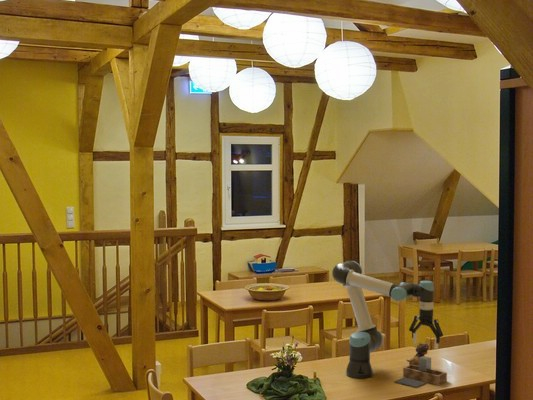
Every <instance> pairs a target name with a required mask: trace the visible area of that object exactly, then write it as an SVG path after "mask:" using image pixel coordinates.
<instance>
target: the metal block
mask: <svg viewBox="0 0 533 400" xmlns="http://www.w3.org/2000/svg"><path fill="white" fill-rule="evenodd" d="M431 369H432V357H430V356H425V355H424V356H422V357H420V358H419V371H422V372H426V373H431Z"/></svg>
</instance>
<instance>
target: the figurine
mask: <svg viewBox="0 0 533 400" xmlns="http://www.w3.org/2000/svg"><path fill="white" fill-rule="evenodd" d="M429 349H430V345H428V344H427V343H421V342H419V343H418V344H416V348H415V352H416V354H415V355H414V356H413V357H411V358H410V359H406V362H408V366H409V365H411V364H413V365H417V366H419V358H420V357H422V356H425V355H427V354H428V350H429Z"/></svg>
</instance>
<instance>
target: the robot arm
mask: <svg viewBox="0 0 533 400" xmlns="http://www.w3.org/2000/svg"><path fill="white" fill-rule="evenodd" d="M331 271H332V272H331V274H332V278H333V279H334V281H335V282H337V283H338V284H341V285H342V286H343V287H344V288H346V290H347V294H348V297H349V300H350V301H349V302H350V304H351V307H352V310H353V314H354V317H355V319H356V320H355V321H356V324H357V330H356V331H355V332H353V333H351V334H350V336H349V341H348V343H349V353H348V354H349V359H348V360H349V361H348V364H347V367H346V371H345V374H346V376H348V377H350V378H354V379H369V378H371V377H373V376H374V371H373V368H372V365H371V353H372V352H374V351H377V350H378V349H379V348H380V347H382V344H383V341H384V337H383V333H382V332H381V331H380V330H378V329H377V325H375V324H374V323H373V320H372V317H371V313H370V311H369V308H368V303H367V301H366V298H365V294H364V292H363V291H364V290H367V291H370V292H372V293H373V292H374V293H377V294H378V295H379V294H380V295H383V296H386V297H389V298H391V299H392V300H394V301H396V302H402V301H404V300H406V299H408V298H412V297H413V298H419V309H418V310H419V311H418V312H419V315H418V314H417V315H414V317H413V321H412V322H411V324H410V327H409V329H408V330H409V332H411V338H412V345H418V344H417V343H418V332H417V331H418V330H419V329H420V328H421V327H422V326H426V327H428V328H430V330H431V332H432V333H433V334H434V335H435V337H434V350H438V349H439V344H440V341H441V340H440V339H441V338H442V337H444V334H443V330H442V329H441V326H440V324H439V319H438V318H434V297H435V296H434V294H435V288H434V282H433V281H431V280H421V281H420V282H419V283H415V282H414V283H413V282H407V281H405V282H404V281H403V282H399V284H395V283H392V282H389V281H386V280H382V279H378V278H375V277H372V276H368V275H365V274H363V268H362V266H361V265H360V263H358V262H357V261H355V260H347V261H344V262H339V263H337V264H336V265H335V266H334V267H333V268H332V270H331ZM418 321H419V322H418Z"/></svg>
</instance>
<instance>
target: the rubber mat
mask: <svg viewBox="0 0 533 400" xmlns="http://www.w3.org/2000/svg"><path fill="white" fill-rule="evenodd" d="M393 382H394V383H396V384H400V385H402V386H403V385H404V386H407V387H410V388H413V389H414V388H415V389H417V388H419V387H422V386H425V385H427V382H424V381H420V380H416V379H412V378H408V377H404V376H403V377H401V378H399V379H397V380H394V381H393Z"/></svg>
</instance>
